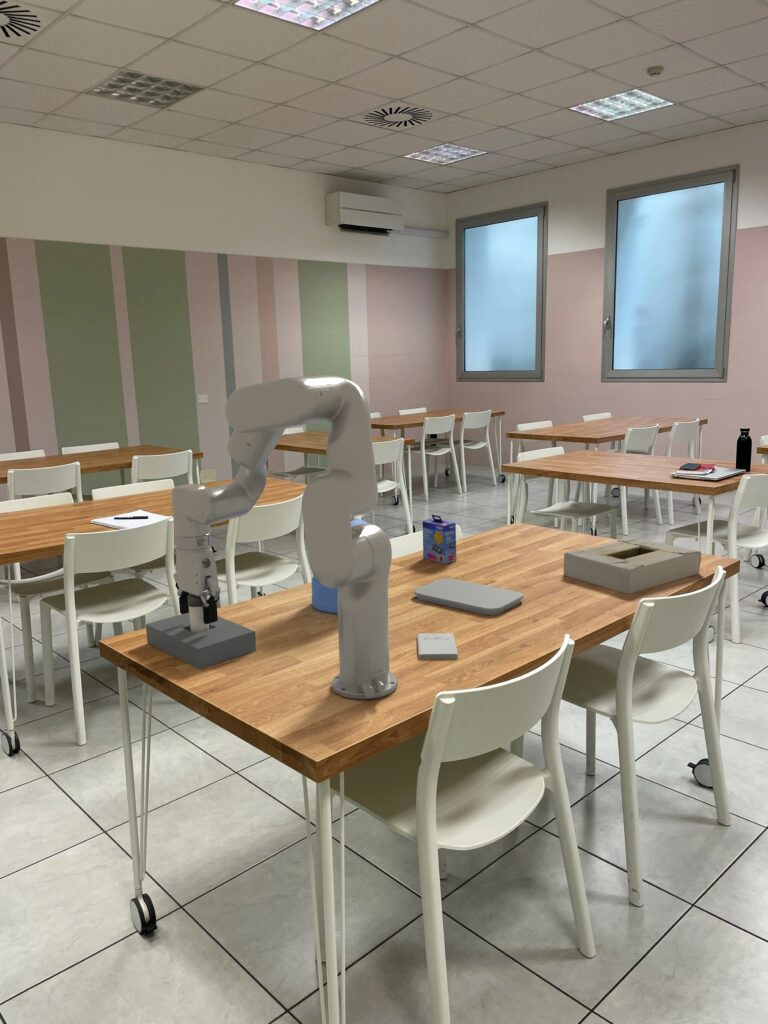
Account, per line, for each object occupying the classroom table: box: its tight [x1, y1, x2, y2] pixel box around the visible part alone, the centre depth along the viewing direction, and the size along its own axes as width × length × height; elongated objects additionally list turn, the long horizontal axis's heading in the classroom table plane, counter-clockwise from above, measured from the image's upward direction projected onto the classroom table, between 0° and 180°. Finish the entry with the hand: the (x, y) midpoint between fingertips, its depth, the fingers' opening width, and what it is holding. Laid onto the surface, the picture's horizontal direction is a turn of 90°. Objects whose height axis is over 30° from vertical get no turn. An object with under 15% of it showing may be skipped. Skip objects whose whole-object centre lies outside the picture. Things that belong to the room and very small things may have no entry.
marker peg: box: [187, 593, 209, 634], centre depth 166 cm, size 4×4×12 cm
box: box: [563, 536, 702, 595], centre depth 216 cm, size 23×8×32 cm
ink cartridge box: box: [422, 514, 457, 565], centre depth 235 cm, size 10×6×14 cm, turn 42°
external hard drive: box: [417, 632, 459, 660], centre depth 164 cm, size 2×8×12 cm
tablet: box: [413, 577, 524, 616], centre depth 197 cm, size 16×26×2 cm, turn 51°
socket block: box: [145, 613, 257, 670], centre depth 167 cm, size 22×14×4 cm, turn 45°
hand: (198, 617), depth 166 cm, fingers open, 9 cm apart
